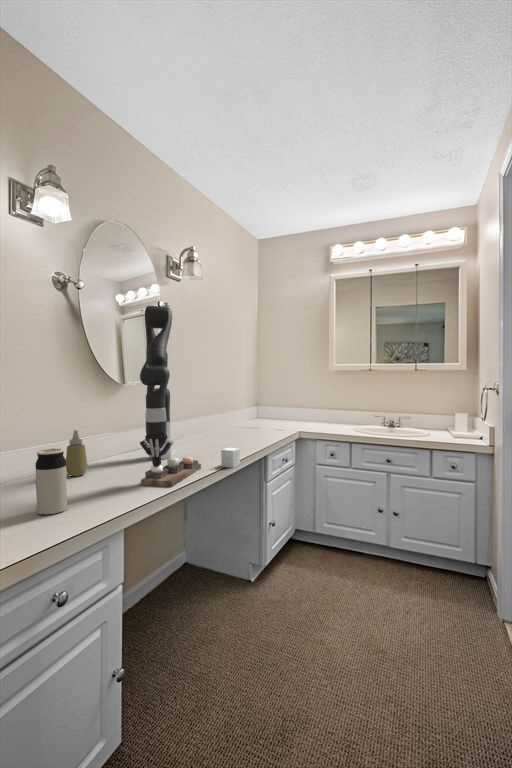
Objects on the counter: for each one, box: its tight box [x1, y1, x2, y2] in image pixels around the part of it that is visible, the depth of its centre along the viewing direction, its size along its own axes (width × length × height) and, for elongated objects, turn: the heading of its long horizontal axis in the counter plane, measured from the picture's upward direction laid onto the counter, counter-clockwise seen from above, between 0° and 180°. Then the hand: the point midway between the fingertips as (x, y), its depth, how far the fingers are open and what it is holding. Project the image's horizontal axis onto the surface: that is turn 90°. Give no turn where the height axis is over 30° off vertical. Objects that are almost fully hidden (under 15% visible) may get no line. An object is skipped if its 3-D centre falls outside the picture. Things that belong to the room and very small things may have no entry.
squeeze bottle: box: [65, 429, 88, 476], centre depth 160 cm, size 8×8×18 cm
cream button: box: [150, 464, 164, 473], centre depth 149 cm, size 4×4×3 cm
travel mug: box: [34, 447, 68, 515], centre depth 118 cm, size 8×8×18 cm
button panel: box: [140, 459, 202, 488], centre depth 157 cm, size 12×28×4 cm, turn 166°
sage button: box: [166, 457, 180, 468], centre depth 157 cm, size 4×4×3 cm
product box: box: [220, 447, 241, 469], centre depth 173 cm, size 6×6×7 cm
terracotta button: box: [182, 456, 194, 463], centre depth 164 cm, size 4×4×3 cm
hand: (157, 466), depth 149 cm, fingers closed
